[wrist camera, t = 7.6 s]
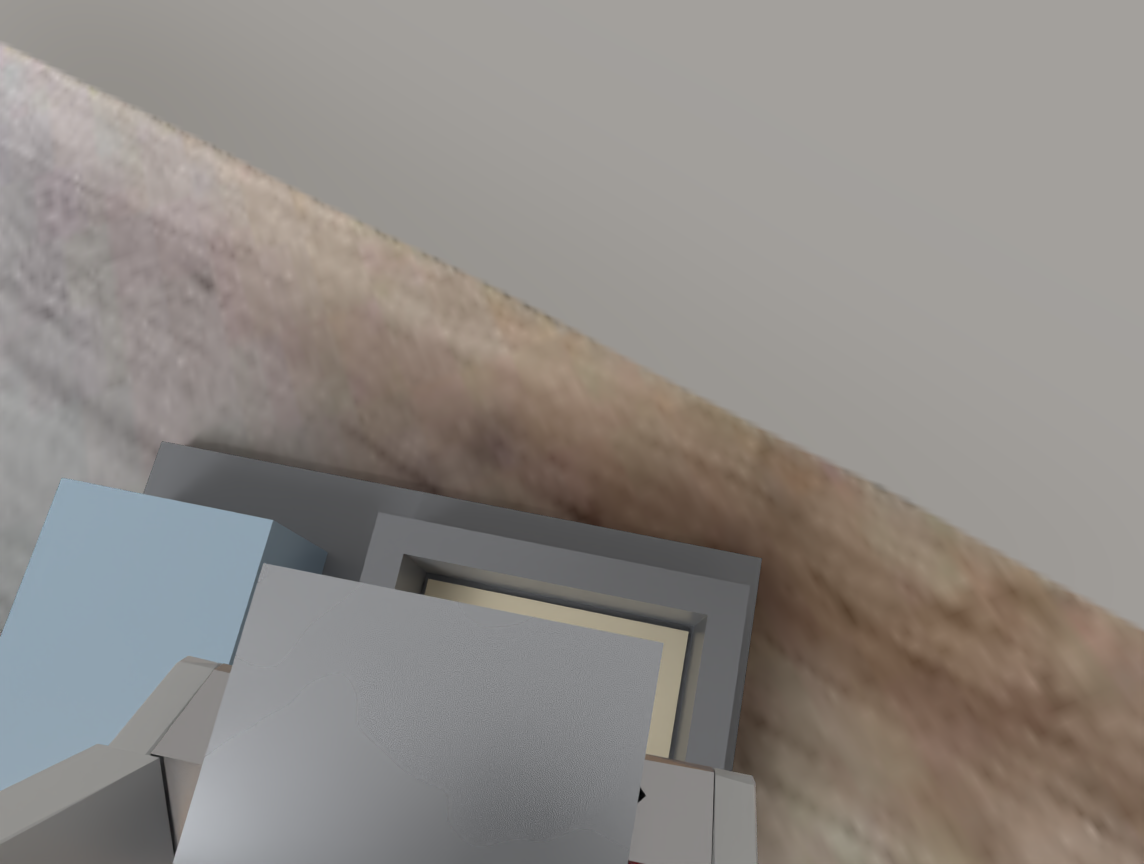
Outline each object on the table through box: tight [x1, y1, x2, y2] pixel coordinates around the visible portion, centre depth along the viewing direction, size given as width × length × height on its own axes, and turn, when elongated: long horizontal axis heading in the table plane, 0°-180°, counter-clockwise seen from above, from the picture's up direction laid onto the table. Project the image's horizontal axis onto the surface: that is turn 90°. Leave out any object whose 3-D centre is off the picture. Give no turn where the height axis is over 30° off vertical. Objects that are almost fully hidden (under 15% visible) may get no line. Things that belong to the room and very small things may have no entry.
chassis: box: [0, 441, 762, 791], centre depth 25 cm, size 20×14×6 cm
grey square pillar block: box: [173, 563, 664, 864], centre depth 13 cm, size 4×4×8 cm
